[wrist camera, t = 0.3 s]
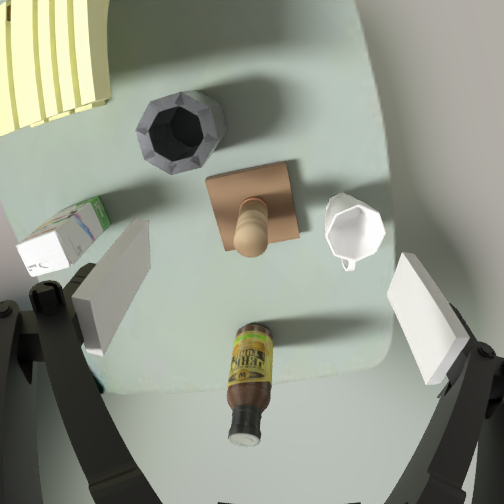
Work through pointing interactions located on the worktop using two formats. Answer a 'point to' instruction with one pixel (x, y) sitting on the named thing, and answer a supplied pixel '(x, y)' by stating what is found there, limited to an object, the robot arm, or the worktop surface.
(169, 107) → the grey hollow octagonal piece
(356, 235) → the cup
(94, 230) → the ink box
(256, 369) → the sauce bottle
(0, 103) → the slatted curved stool
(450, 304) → the robot arm
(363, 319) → the worktop surface
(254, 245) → the post
